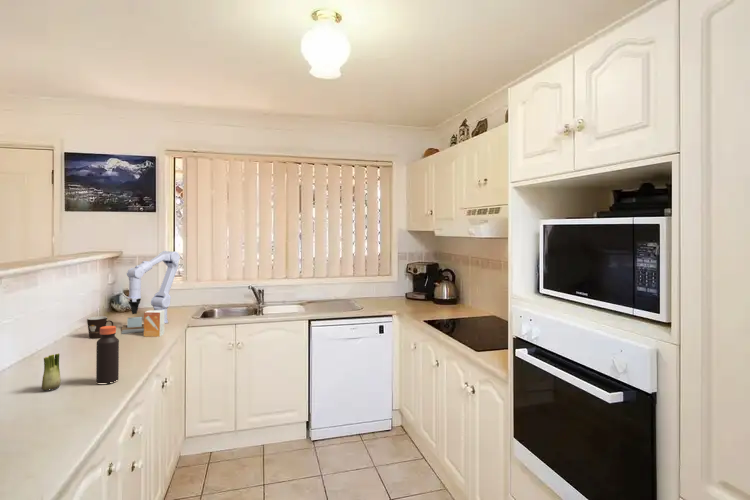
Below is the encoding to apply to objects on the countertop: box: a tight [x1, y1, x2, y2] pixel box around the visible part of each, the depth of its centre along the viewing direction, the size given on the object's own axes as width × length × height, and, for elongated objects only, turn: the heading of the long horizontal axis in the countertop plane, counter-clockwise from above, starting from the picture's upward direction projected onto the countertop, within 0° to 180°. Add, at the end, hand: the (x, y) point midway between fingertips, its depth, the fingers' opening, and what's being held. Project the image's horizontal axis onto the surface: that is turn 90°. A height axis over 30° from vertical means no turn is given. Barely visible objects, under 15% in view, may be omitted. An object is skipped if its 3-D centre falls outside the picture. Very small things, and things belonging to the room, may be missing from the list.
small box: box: [143, 309, 165, 338], centre depth 215 cm, size 8×6×13 cm
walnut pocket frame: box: [121, 323, 144, 331], centre depth 231 cm, size 9×12×1 cm
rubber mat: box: [121, 328, 144, 335], centre depth 223 cm, size 8×11×1 cm
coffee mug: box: [86, 315, 114, 340], centre depth 208 cm, size 12×9×10 cm
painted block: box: [126, 316, 143, 328], centre depth 231 cm, size 4×7×6 cm, turn 118°
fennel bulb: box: [41, 352, 62, 391], centre depth 139 cm, size 6×5×12 cm
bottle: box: [95, 325, 120, 384], centre depth 147 cm, size 7×7×20 cm
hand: (134, 312), depth 231 cm, fingers open, 7 cm apart
